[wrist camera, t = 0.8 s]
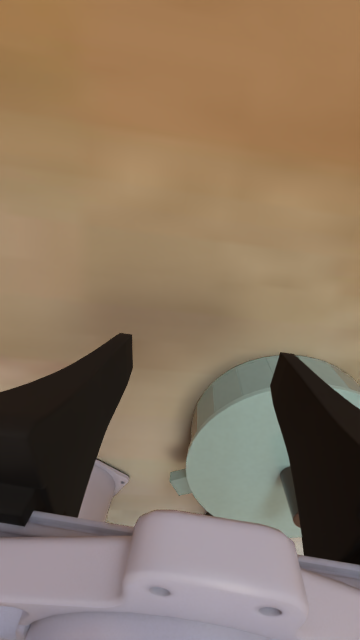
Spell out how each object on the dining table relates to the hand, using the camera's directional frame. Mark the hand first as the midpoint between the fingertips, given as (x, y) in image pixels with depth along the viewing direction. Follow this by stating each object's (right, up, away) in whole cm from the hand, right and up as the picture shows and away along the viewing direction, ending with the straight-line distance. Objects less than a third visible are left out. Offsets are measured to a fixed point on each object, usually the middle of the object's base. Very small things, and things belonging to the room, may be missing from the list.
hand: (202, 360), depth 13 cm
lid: (+9, -11, +10) cm, 18 cm away
